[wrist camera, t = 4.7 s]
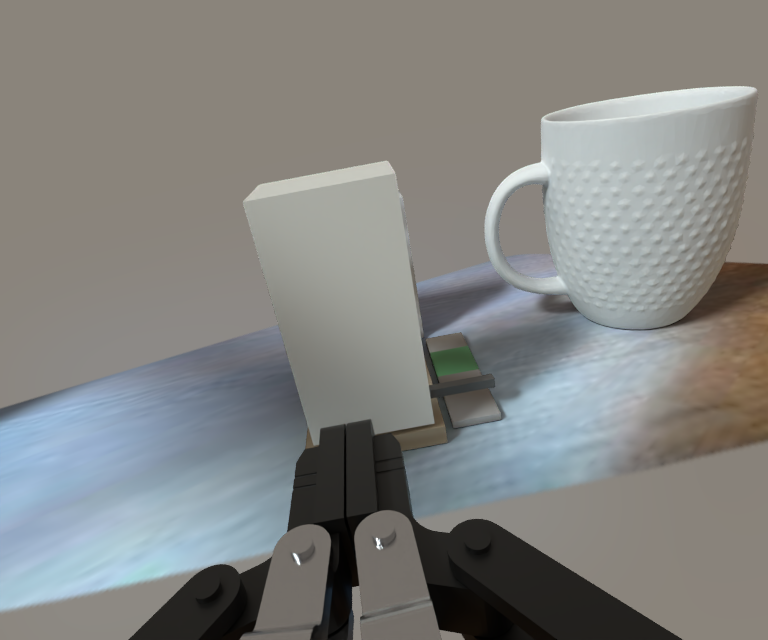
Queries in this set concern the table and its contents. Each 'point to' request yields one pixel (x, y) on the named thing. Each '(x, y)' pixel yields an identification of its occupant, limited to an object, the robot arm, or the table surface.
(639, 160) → the mug
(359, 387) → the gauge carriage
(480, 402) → the gauge base
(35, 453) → the table surface
